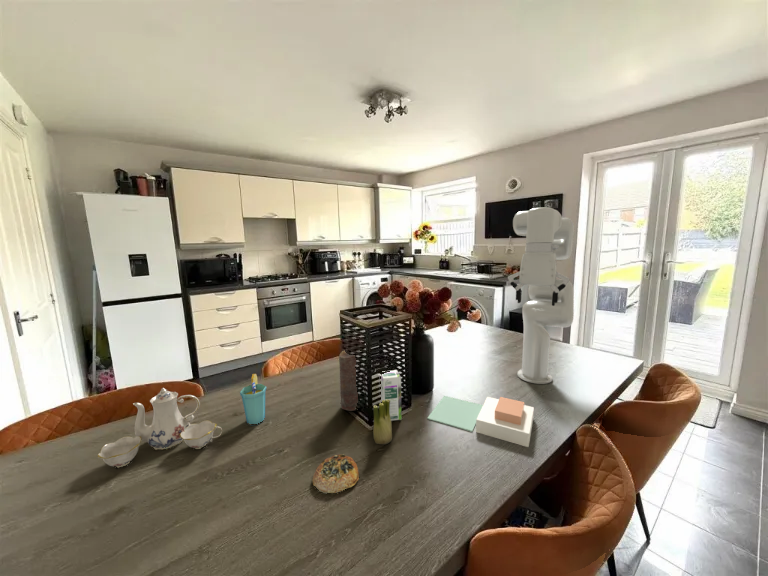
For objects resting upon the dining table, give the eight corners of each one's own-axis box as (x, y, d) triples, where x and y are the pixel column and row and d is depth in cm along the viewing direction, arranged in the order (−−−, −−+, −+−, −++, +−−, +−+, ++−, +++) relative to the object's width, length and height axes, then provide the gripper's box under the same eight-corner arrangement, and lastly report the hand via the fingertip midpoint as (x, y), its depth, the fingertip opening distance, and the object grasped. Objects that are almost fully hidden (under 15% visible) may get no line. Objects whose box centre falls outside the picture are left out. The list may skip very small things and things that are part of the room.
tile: (499, 404, 97) (500, 396, 96) (524, 409, 93) (524, 402, 93) (494, 418, 89) (494, 410, 89) (520, 425, 86) (521, 417, 85)
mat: (444, 396, 110) (444, 395, 110) (484, 406, 103) (484, 405, 103) (427, 419, 96) (427, 417, 96) (472, 432, 89) (472, 430, 89)
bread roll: (337, 454, 81) (338, 438, 80) (368, 479, 74) (369, 462, 73) (302, 481, 73) (302, 464, 71) (333, 512, 66) (334, 494, 65)
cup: (271, 430, 92) (268, 383, 90) (243, 437, 89) (239, 389, 86) (267, 408, 104) (263, 366, 102) (242, 414, 101) (238, 371, 99)
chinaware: (91, 491, 72) (76, 431, 68) (112, 444, 87) (101, 392, 83) (223, 452, 85) (217, 400, 81) (223, 417, 99) (218, 371, 96)
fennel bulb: (374, 448, 83) (373, 407, 81) (370, 437, 88) (369, 398, 86) (395, 444, 85) (394, 404, 83) (390, 434, 89) (389, 395, 87)
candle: (359, 415, 99) (357, 356, 96) (337, 413, 101) (335, 355, 98) (365, 403, 107) (363, 348, 104) (345, 401, 108) (343, 347, 105)
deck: (486, 407, 102) (487, 396, 101) (533, 419, 95) (533, 407, 95) (476, 432, 89) (476, 419, 89) (528, 447, 82) (529, 433, 82)
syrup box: (384, 422, 95) (383, 378, 93) (380, 412, 101) (379, 370, 98) (401, 420, 96) (401, 376, 94) (397, 410, 102) (396, 368, 100)
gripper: (571, 248, 93) (567, 304, 95) (510, 249, 102) (508, 299, 104) (572, 248, 86) (567, 308, 89) (507, 249, 95) (504, 303, 97)
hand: (535, 303), depth 96 cm, fingers open, 9 cm apart
